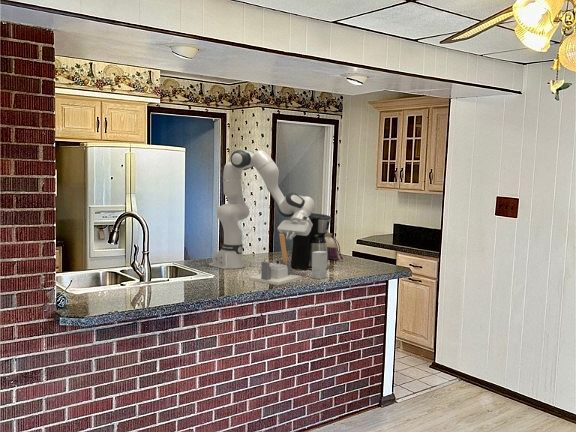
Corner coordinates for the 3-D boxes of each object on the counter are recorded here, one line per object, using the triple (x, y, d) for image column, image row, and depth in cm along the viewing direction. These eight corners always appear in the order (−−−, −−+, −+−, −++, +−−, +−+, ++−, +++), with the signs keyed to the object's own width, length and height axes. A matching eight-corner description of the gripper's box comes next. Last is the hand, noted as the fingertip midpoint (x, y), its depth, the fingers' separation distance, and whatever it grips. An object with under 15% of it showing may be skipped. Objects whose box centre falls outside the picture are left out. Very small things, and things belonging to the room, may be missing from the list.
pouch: (309, 258, 374) (309, 230, 372) (315, 256, 381) (315, 229, 379) (341, 262, 361) (342, 233, 359) (347, 260, 367) (348, 232, 366)
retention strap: (283, 263, 307) (283, 262, 307) (287, 263, 305) (288, 263, 305) (279, 234, 302) (279, 233, 302) (283, 234, 300) (284, 234, 300)
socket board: (248, 279, 296) (249, 260, 295) (273, 274, 314) (273, 255, 313) (278, 285, 285) (278, 264, 284) (301, 278, 302) (302, 259, 302)
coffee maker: (332, 271, 328) (334, 215, 325) (279, 271, 324) (280, 214, 321) (325, 264, 350) (326, 212, 347) (275, 264, 346) (276, 211, 343)
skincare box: (320, 279, 303) (321, 252, 301) (310, 278, 306) (311, 251, 304) (327, 277, 310) (327, 251, 309) (317, 275, 313) (318, 250, 312)
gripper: (281, 215, 318) (271, 233, 311) (311, 218, 306) (301, 237, 299) (286, 222, 322) (275, 240, 315) (315, 225, 310) (305, 244, 303)
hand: (288, 238), depth 306 cm, fingers closed
